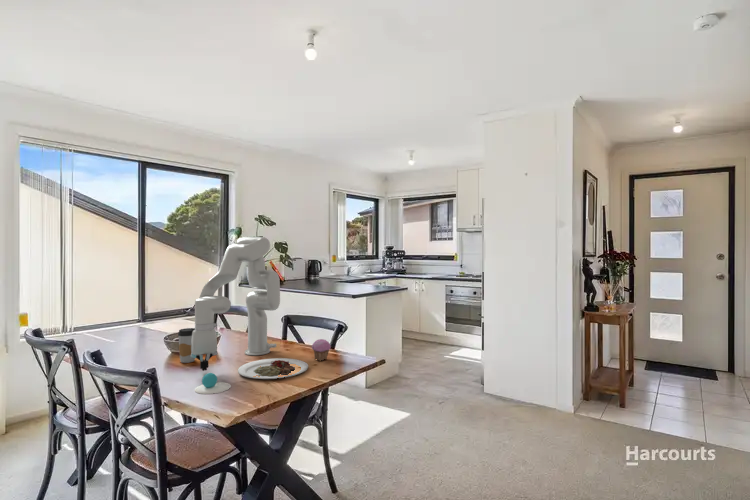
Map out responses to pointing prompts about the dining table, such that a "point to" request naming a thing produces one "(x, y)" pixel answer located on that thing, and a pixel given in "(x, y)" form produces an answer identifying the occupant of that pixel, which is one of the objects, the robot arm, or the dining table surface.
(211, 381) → the ball
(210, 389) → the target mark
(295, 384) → the dining table surface
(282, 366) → the plated food
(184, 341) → the coffee cup
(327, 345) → the cupcake
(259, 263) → the robot arm
